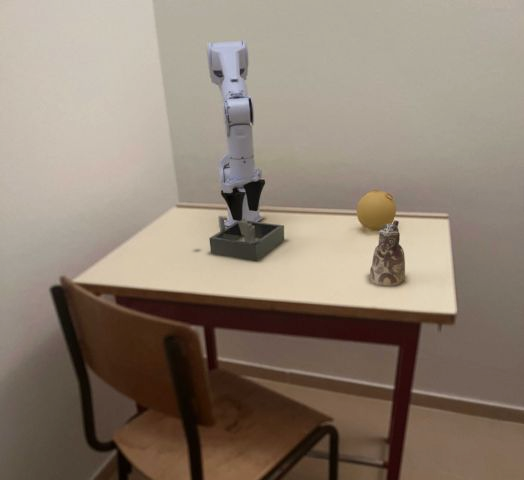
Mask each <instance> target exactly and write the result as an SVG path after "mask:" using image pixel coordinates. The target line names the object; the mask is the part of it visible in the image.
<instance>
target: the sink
mask: <svg viewBox="0 0 524 480" xmlns="http://www.w3.org/2000/svg"><path fill="white" fill-rule="evenodd" d="M217 218H218V228H219V229H218V230H219V232H217V233H215V234H213V235H212V236H211V237H209V238H208V239H209V248H210V249H209V250H210V254H213V255H216V256H224V257H230V258H234V259H242V260H248V261H253V262H258V261H259V260H260V259H262V258H263V257H265V256H266V255H267V254H269V253H270V252H271V251H273V250H274V249H275V248H277V247H278V246H279V245H281V244H282V243H283V242H285V225H284V224H276V223H268V222H261V221H258V222H254V221H247V223H249V224H250V223H251V224H252V226H255V236H256V239H258V240H256V242H255V243H250V242H244V240H238V239H240V238H241V237H244V235H242V234H241V231H240V227H239V224H238V222H239V221H237V222H235V223H233V224H232V225H230V226H225V224H224V222H225V221H228V216H224V215H218V217H217Z"/></svg>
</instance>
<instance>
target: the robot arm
mask: <svg viewBox="0 0 524 480" xmlns="http://www.w3.org/2000/svg"><path fill="white" fill-rule="evenodd" d="M206 54H207V55H206V57H207V65H208V71H209V77H210V79H211V83H212V84H215V85H217V86H218V88H219V91H220V94H221V99H222V117H223V124H224V128H225V129H224V131H225V139H226V149H227V153H226V154H225V155H223V157H221V158H220V159H219V162H218V175H219V184H220V196H221V197H222V198H223V199H224V201H225V202H226V209H227V218H228V219H227V220H225V221H224V224H225V227H228V226H230V225H232V224H233V223H235V222H237V221H241V220H242V219H247V221H254V222H260V221H261V220H262V219H263V218H264V217H263V216H261V213H260V212H261V210H260V200H261V195H262V192H263V189H264V186H265V185H266V180H265V179H263V170H262V169H261V168H257V166H256V161H255V153H254V134H253V126H254V124H255V108H254V103H253V99H252V96H251V95H250V94H249V91H248V88H247V83H246V81H247V76H248V71H249V69H248V68H249V49H248V42H246V40H245V39H242V40H237V41H235V40H234V41H221V42H220V41H219V42H210V41H209V42H208V43H207V44H206ZM261 178H262V179H261Z"/></svg>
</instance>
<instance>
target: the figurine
mask: <svg viewBox="0 0 524 480" xmlns="http://www.w3.org/2000/svg"><path fill="white" fill-rule="evenodd" d="M399 224H400V222H399V220H396V219H394V221H393V222H392V224H386V225H384V226H383V227H382V229H381V230H378V244H377V246H375V248H374V251H373V255H372V260H371V261H372V262H371V266H370V270H369V271H370V273H369V275H370V280H371V282H372V283H373V284H376V285H379V286H390V287H391V286H393V287H394V286H397V285H400V284H402V282H403V281H404V280H405V276H406V260H405V259H406V258H405V251H404V248H403V247H402V245H401V244H400V239H401V238H400V236H401V235H400V234H401V233H400V231H399Z"/></svg>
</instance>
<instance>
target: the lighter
mask: <svg viewBox="0 0 524 480" xmlns="http://www.w3.org/2000/svg"><path fill="white" fill-rule="evenodd" d="M238 224H239V227H240V231H241V234H242V235H244V236H243V242H250V243H255V242H257V238H256V236H255V226H252V224H251V223H250V224H249V223H247V219H242V220H241V221H239V222H238Z"/></svg>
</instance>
